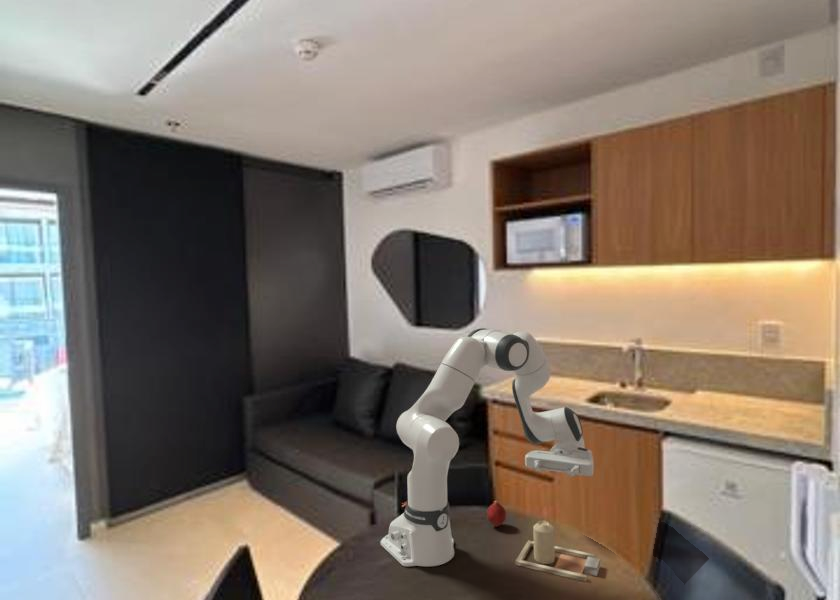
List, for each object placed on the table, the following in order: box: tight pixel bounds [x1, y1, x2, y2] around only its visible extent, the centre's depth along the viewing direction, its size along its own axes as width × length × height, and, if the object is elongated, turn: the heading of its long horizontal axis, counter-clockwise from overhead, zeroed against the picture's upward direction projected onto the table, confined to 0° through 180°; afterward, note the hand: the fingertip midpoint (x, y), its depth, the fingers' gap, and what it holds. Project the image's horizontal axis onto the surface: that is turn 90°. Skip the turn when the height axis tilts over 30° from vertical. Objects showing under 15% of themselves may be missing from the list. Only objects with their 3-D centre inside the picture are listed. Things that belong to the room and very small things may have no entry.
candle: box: [532, 520, 556, 565], centre depth 138 cm, size 6×6×10 cm
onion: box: [486, 500, 507, 528], centre depth 157 cm, size 6×6×8 cm
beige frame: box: [514, 539, 601, 582], centre depth 136 cm, size 20×12×2 cm, turn 62°
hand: (553, 471), depth 148 cm, fingers open, 8 cm apart
